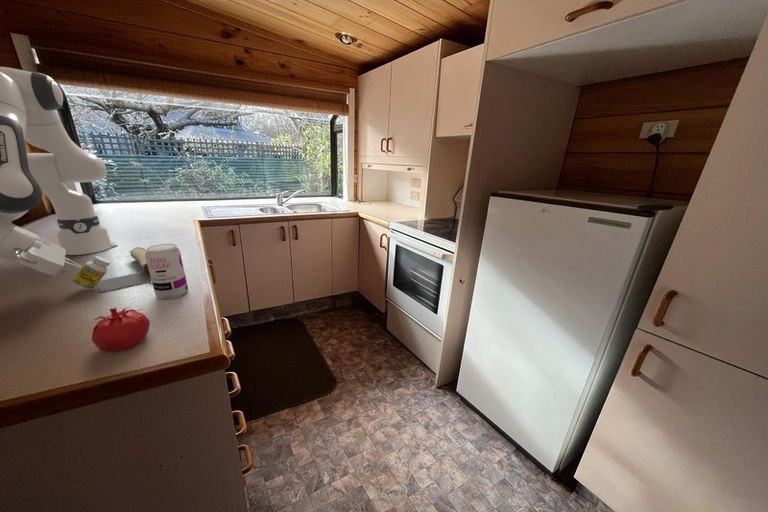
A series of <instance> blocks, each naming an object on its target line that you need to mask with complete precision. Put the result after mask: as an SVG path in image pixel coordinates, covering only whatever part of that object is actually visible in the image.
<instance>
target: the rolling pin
mask: <svg viewBox="0 0 768 512" xmlns="http://www.w3.org/2000/svg"><path fill="white" fill-rule="evenodd" d="M146 251H147V250H146V249H145V248H143V247H134V248H132V249H131V250H130V251H128V252H129V254H130V257H131V258H132V259H134V260H135V261H136V262H138V264H139V265H140V266H141V267H142V269H143V272H145V273H146V275H149V276H150V273H149V269H148V265H147V261H146V257H145V253H146Z"/></svg>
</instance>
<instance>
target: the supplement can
mask: <svg viewBox="0 0 768 512" xmlns="http://www.w3.org/2000/svg"><path fill="white" fill-rule="evenodd" d="M145 250H146V253H145V257H146V261H147V265H148V269H149V273H150V276H151V280H152V282H151V283H152V288H153V291H154V294H155V297H156V298H159V299H160V300H172V298H173V299H176V297H177V298H179V297H178V296H180V297H182V296H184V295H185V294H186V293H187V292H188V290H189V287H188V283H187V281H188V280H187V278H186V271H185V267H184V264H183V259H182V253H181V250H180V249H179V247H178V246H177V245H176V244H173V243H163V244H156V245H152V246H149V247H147V248H146V249H145ZM185 292H186V293H185ZM184 293H185V294H184ZM183 294H184V295H183ZM181 295H182V296H181Z"/></svg>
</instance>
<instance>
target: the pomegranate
mask: <svg viewBox="0 0 768 512" xmlns="http://www.w3.org/2000/svg"><path fill="white" fill-rule="evenodd" d="M117 309H118V308H117V307H112V308H109V311H110V313H111V315H108V316H98V317H97V318H94V319H93V320H95V321H97V320H98V321H97V323H96V325H94V327H93V329H92V335H91V342H92V343H93V344H94V346H95V347H96V348H97V349H99V351H102V352H106V353H115V352H119V351H123V352H125V351H127V350H130V349H132V348H134V347H135V346H137V345H138V344H139V343H141V342H143V340H144V339H145V338H146V336H147V335H148V333H149V330H150V326H151V325H150V324H151V322H150V319H149V318H148V317H147V316H146V315H145V314H144V313H142V312H138V311H140V309H132V308H131V309H128V307H124V308H122V310H120V311H119V310H118V311H117Z"/></svg>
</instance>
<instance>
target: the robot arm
mask: <svg viewBox="0 0 768 512" xmlns="http://www.w3.org/2000/svg"><path fill="white" fill-rule="evenodd" d="M63 94H64V93H63V92H62V89H61V88H60V87H59V85H58V83H57V81H55V79H53V78H52V77H51V76H49V75H46V74H45V73H41V72H37V71H27V70H22V69H17V68H13V67H7V66H0V259H2V260H4V261H8V262H10V263H14V262H16V261H17V260H18V263H19V264H21V265H23V266H25V267H27V268H29V269H32V270H34V271H37V272H40V273H41V274H45V275H47V276H51V277H52V276H53V277H55V276H57V275H58V274H59V273H60V272H61V270H63V271H64V270H65V271H69V272H73V273H76V274H78V273H80V271H81V270H82V268H83V265H82V264H79V263H77V262H75V261H73V260H71V259H70V258H68V257H66V256H79V255H80V256H81V255H89V254H95V253H99V252H103V251H105V250H109V249H111V248H114V247H118V244H117V242H115V241H113V240H111V239H110V235H109V234H108V230H107V228H106V227H104V226H102V225H101V224H100V218H99V217H98V215H97V214H96V212H95V208H94V205H93V201H92V199H91V198H90V196H88V195H87V194H85V193H83V192H80V191H77V190H72V189H71V188H69V187H68V186H67V185H66V183H91V182H97V181H102V180H104V178H105V177H106V176H107V171H108V170H107V166H106V165H105V162H103V160H102V159H101V158H100V157H98V156H96V155H94V154H91V153H90V152H88V151H86V150H84V149H82V148H81V147H80V146H79V145H77V144H76V143H75V142H74V141H73V140H72V139H71V138H70V136H69V135H68V132H67V131H66V129H65V127H64V125H63V123H62V121H61V118H60V116H59V114H58V112H57V110H59V109H60V108H61V107H63V105H64V95H63ZM26 142H27V143H28V144H30V145H31V146H32V147H36V148H37V149H42V150H44V151H46V152H29V153H28V152H27V148H26ZM47 152H48V153H47ZM43 194H44V195H45V196H46V197H47V199H48V200H49V202H50V203H51V205H52V207H53V209H54V212H55V214H56V215H55V216H56V217H57V219H56V221H57V222H56V223H57V225H58V228H59V229H60V230H58V231H57V233H56V238H57V242H58V244H57V243H55V242H54V241H51V240H49V239H47V238H45V237H43V236H40V235H39V233H38V232H36V231H33V230H31V229H26V228H23V227H21V226H18V225H16V224H14V223H12V222H13V221H15V220H17V219H20V218H21V217H23V216H24V215H25V214H26V213H28V212H29V211H30V210H32V209H34V208H35V207H37V206H38V205H40V203H41V202H42V200H43Z"/></svg>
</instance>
